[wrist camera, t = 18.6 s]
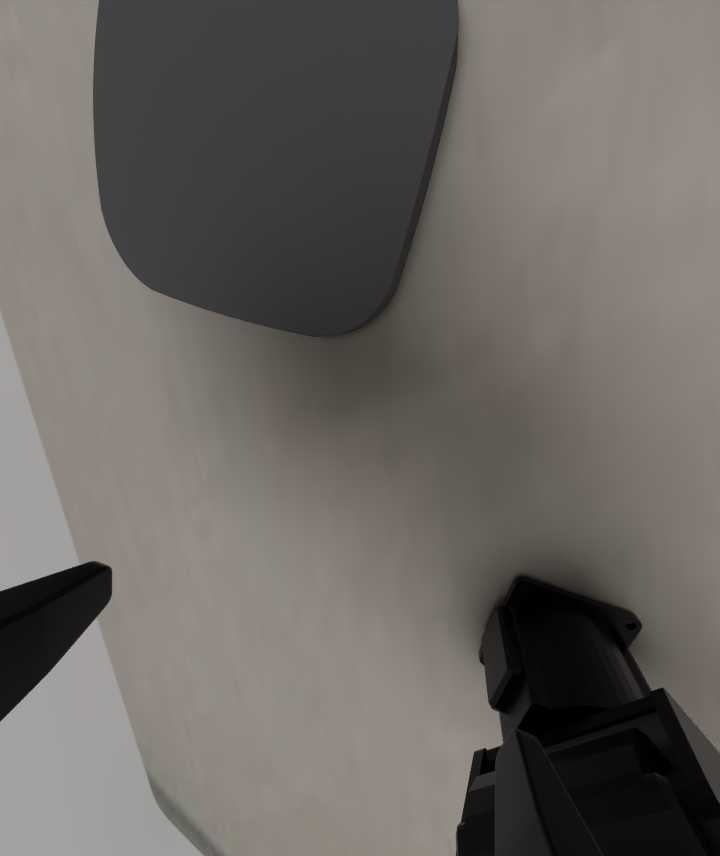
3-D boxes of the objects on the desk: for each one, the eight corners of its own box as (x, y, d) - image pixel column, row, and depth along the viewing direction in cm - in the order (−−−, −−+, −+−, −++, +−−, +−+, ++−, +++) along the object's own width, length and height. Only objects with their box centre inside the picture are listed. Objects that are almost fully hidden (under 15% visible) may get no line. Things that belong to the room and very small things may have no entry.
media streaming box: (383, 353, 19) (372, 359, 16) (136, 281, 21) (87, 276, 18) (486, -26, 14) (496, -111, 11) (149, -75, 16) (85, -160, 13)
